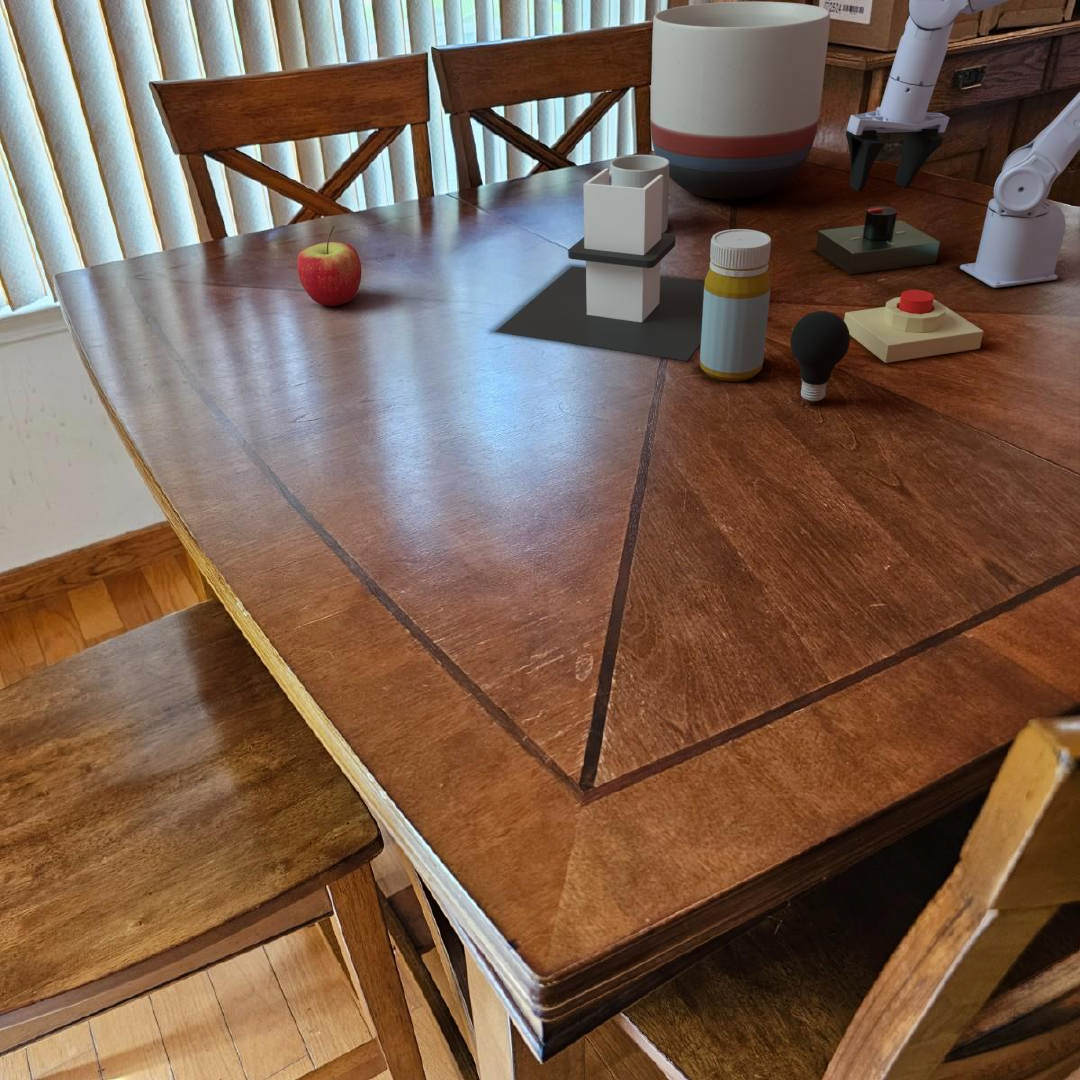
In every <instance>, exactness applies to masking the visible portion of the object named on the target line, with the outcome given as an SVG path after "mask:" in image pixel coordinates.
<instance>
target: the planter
mask: <svg viewBox="0 0 1080 1080" xmlns="http://www.w3.org/2000/svg"><path fill="white" fill-rule="evenodd" d="M830 22H831V12H830V11H829V10H828V9H826V8H824V7H821V6H817V5H812V4H807V3H797V2H785V1H783V2H782V1H722V2H708V3H707V2H706V3H697V4H690V5H689V4H688V5H680V6H677V7H670V8H667V9H663V10H660V11H658V12H657V13H655V14H654V15H653V21H652V23H653V24H652V40H651V41H652V42H651V43H652V44H651V79H650V80H651V82H650V84H651V85H650V122H649V123H650V124H649V125H650V138H651V142H652V147H653V151H654V156H659V157H663V158H666V159H667V160H668V161H669V163H670V166H669V179H671V180H672V181H673V182H674V183H675V184H676V185H678V186H679V187H681V188H682V189H683V190H686V191H687V192H689V193H691V194H694V195H696V196H699V197H703V198H707V199H713V200H721V201H737V200H746V199H752V198H756V197H760V196H762V195H766V194H768V193H770V192H772V191H774V190H776V189H777V188H780V187H781V186H782V185H784V184H785V183H787V181H789V180H790V179H792V177H794V175H796V174H797V173H798V172H799V171H800V169H801V168H802V167H803V165H804V164H805V163H806V161H807V159H808V157H809V155H810V154H811V150H812V148H813V145H814V142H815V138H816V136H817V132H818V126H819V120H820V111H821V105H822V97H823V96H822V95H823V87H824V78H825V70H826V69H825V68H826V57H827V51H828V43H829V34H830Z"/></svg>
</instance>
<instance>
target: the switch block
mask: <svg viewBox="0 0 1080 1080" xmlns="http://www.w3.org/2000/svg"><path fill="white" fill-rule="evenodd" d="M900 298H901V296H899V297H893V298H891V299H889V300H887V301H886V302H885V306H880V307H873V308H868V309H867V308H866V309H860V310H854V311H846V312H845V313H844V318H843V321H844V322H845V323H846V325H847V327H848V330H849V333H850V337H852V338H853V339H854V340H856V341H857V342H858V343H859V344H860V345H862V346H863V347H864V348H866V349H867V350H868V351H869V352H871V353H872V354H873V355H874V356H876V357H877V358H878V359H879V360H881V361H882V362H883V363H885V364H888V363H894V362H901V361H907V360H914V359H915V360H916V359H920V358H927V357H933V356H940V355H946V354H953V353H959V352H966V351H973V350H979V349H980V348H981V345H982V344H981V343H982V340H983V336H984V330H983V329H981V328H979V327H978V326H977V325H975V324H974V323H972V322H970V321H969V320H967V319H966V318H964V317H963V316H961V315H960V314H958V313H956V312H955V311H953V310H952V309H951V308H949V307H947V306H945V305H944V304H942V303H941V302H939V301H938V300H936V299H934V300H933V305H932V310H931V312H930V313H925V314H911V313H908V312H904V311H901V310H900V309H899V304H900Z"/></svg>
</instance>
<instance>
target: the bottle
mask: <svg viewBox="0 0 1080 1080" xmlns="http://www.w3.org/2000/svg"><path fill="white" fill-rule="evenodd" d="M771 246H772V239H771V236H769V235H768V234H767V233H764V232H762V231H759V230H755V229H747V228H745V229H744V228H736V229H735V228H734V229H726V230H722V231H718V232H716V233H714V234H713V235H712V237H711V238H710V251H709V252H710V253H709V258H710V260H709V270H708V272H707V274H706V276H705V279H704V282H705V285H704V300H703V317H702V334H701V343H700V349H699V350H700V352H699V353H700V354H699V365H700V368H701V370H702V371H703V372H704V374H706V375H707V376H709V377H711V378H712V379H714V380H717V381H718V380H719V381H723V382H741V381H747V380H749V379H752V378H754V377H755V376H757V374H759V372H760V371H762V369H763V365H764V357H765V348H766V347H765V346H766V337H767V328H768V320H769V319H768V318H769V307H770V297H771V287H772V286H771V285H772V280H771V278H770V273H769V260H770V258H771V257H770V256H771V248H772V247H771Z"/></svg>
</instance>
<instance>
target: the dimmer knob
mask: <svg viewBox="0 0 1080 1080" xmlns="http://www.w3.org/2000/svg"><path fill="white" fill-rule="evenodd" d="M897 215H898V210H897V209H896V208H894V207H891V206H886V205H875V206H870V207H868V208H866V213H865V217H864V218H865V219H864V224H863V225H864V232H863V236H864V237H865V238H868V239H872V240H888V239H891V238H892V237H893V234H894V228H895V222H896V221H897Z"/></svg>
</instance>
